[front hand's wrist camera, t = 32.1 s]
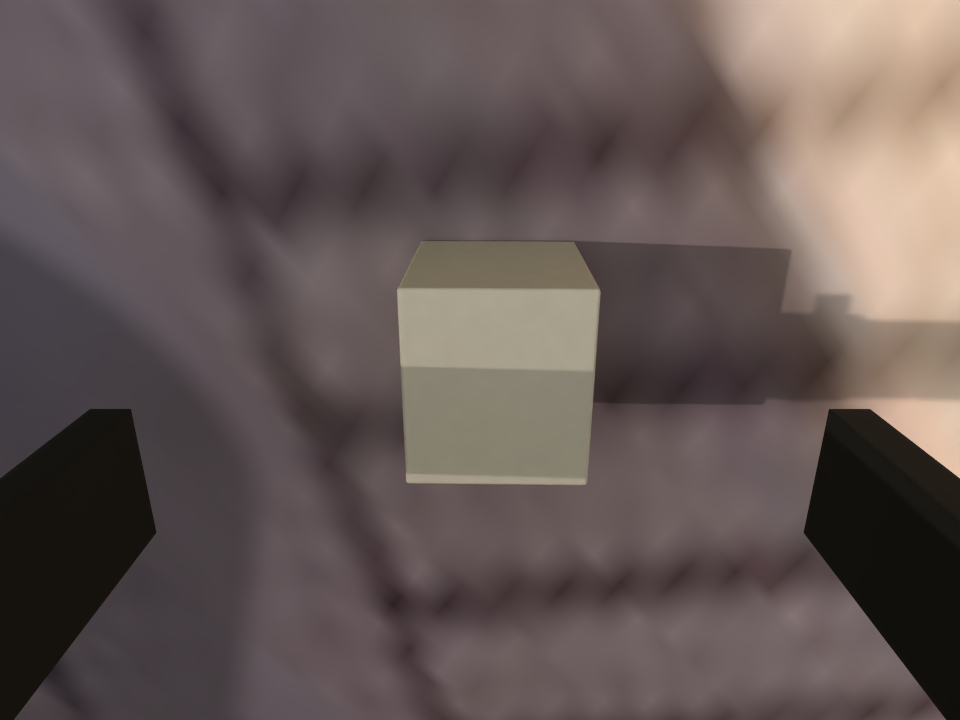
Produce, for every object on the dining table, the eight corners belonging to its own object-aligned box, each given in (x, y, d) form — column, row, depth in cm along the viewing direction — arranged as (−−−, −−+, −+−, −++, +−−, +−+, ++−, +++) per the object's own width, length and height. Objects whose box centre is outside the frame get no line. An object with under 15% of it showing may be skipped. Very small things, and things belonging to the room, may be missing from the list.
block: (574, 240, 18) (601, 289, 14) (566, 397, 20) (587, 486, 16) (420, 240, 18) (396, 288, 14) (425, 396, 20) (405, 484, 16)
